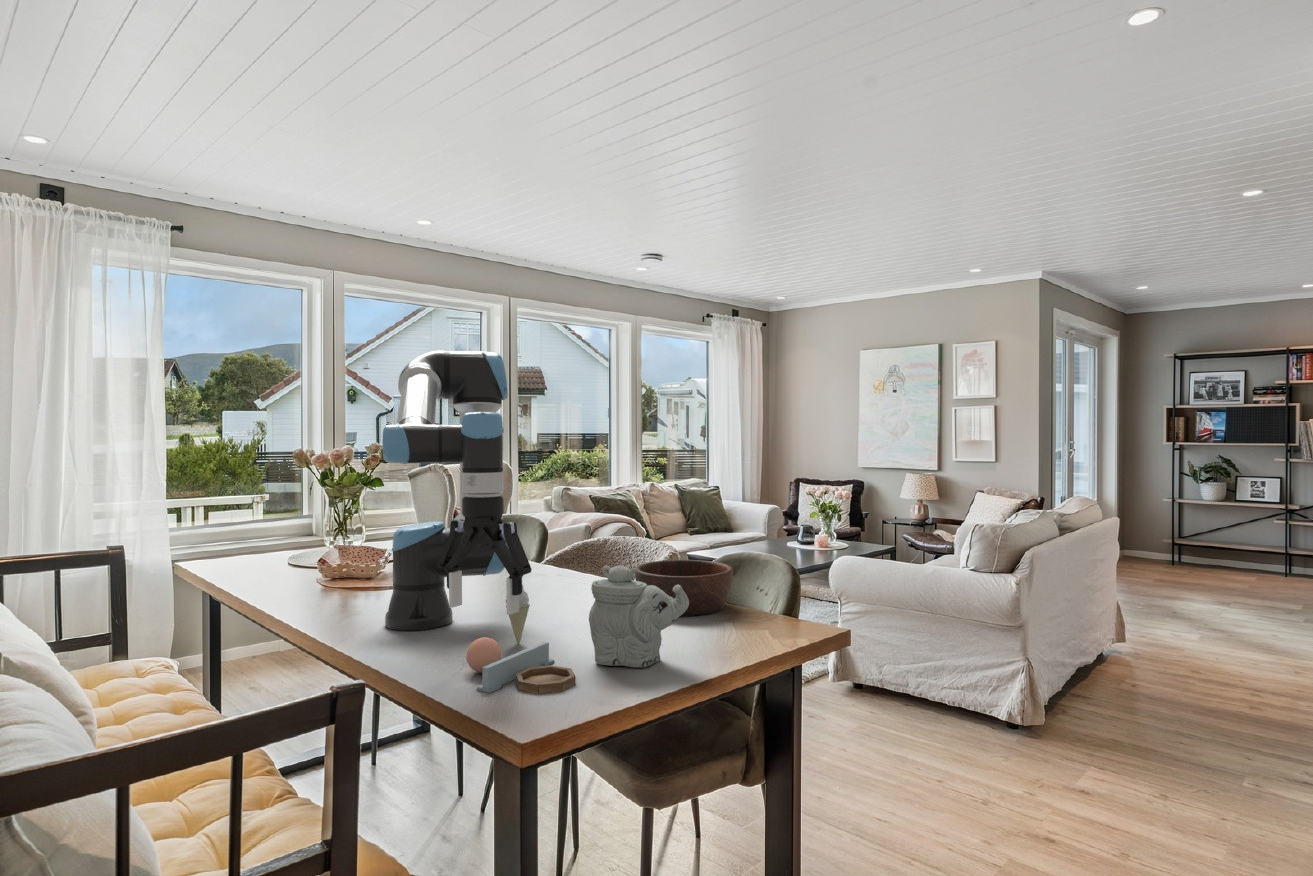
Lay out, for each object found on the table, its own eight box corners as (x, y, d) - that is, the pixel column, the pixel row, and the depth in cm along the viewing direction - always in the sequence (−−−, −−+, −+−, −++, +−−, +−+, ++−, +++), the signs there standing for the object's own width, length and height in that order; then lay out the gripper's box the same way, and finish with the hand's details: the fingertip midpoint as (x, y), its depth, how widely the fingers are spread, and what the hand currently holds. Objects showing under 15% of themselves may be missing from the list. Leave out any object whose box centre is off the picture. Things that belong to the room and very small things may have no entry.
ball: (459, 674, 140) (458, 640, 140) (482, 665, 146) (481, 631, 146) (486, 679, 137) (486, 644, 137) (508, 669, 143) (508, 635, 143)
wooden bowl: (614, 611, 190) (614, 570, 190) (670, 593, 211) (670, 556, 211) (700, 625, 176) (699, 580, 176) (750, 604, 197) (750, 565, 197)
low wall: (476, 690, 132) (476, 667, 132) (541, 660, 148) (541, 640, 148) (490, 693, 130) (490, 669, 130) (554, 663, 147) (554, 642, 147)
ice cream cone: (507, 641, 163) (506, 571, 163) (531, 640, 163) (530, 570, 163) (504, 647, 158) (504, 575, 158) (529, 647, 158) (528, 575, 158)
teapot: (692, 666, 145) (691, 567, 145) (625, 681, 136) (625, 576, 136) (644, 646, 158) (643, 556, 158) (580, 659, 150) (580, 563, 150)
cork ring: (505, 687, 133) (505, 678, 133) (539, 671, 142) (539, 663, 142) (552, 696, 129) (552, 687, 129) (584, 679, 137) (584, 670, 137)
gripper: (418, 495, 144) (418, 607, 144) (524, 498, 132) (525, 620, 132) (446, 492, 150) (446, 599, 150) (549, 495, 139) (550, 611, 139)
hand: (483, 609), depth 141 cm, fingers open, 13 cm apart
